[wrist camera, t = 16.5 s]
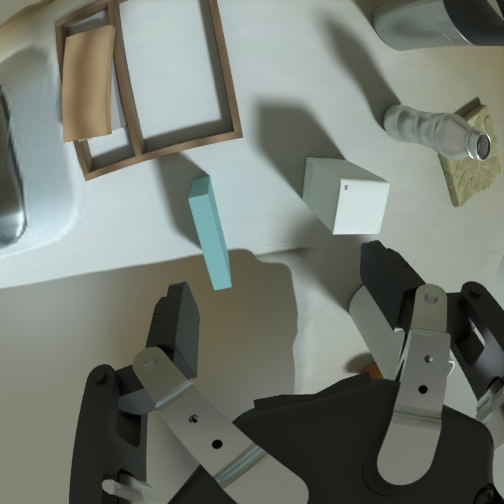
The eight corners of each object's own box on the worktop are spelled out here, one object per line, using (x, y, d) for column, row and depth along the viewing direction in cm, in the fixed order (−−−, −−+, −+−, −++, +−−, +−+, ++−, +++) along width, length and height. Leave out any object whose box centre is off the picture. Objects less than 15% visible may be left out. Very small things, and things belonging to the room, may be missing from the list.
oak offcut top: (115, 27, 23) (110, 24, 21) (111, 133, 31) (106, 135, 29) (72, 39, 22) (66, 37, 20) (70, 140, 30) (63, 142, 28)
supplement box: (300, 200, 43) (330, 235, 32) (305, 155, 39) (340, 176, 28) (341, 201, 44) (379, 235, 33) (348, 159, 40) (391, 182, 29)
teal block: (209, 175, 39) (208, 193, 31) (228, 254, 46) (231, 286, 39) (193, 179, 39) (187, 198, 31) (213, 257, 46) (214, 290, 39)
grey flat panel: (112, 30, 24) (108, 26, 22) (125, 126, 32) (120, 127, 30) (72, 47, 24) (66, 45, 22) (84, 139, 32) (78, 141, 30)
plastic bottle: (408, 139, 39) (494, 172, 22) (378, 139, 39) (466, 172, 22) (407, 105, 36) (497, 123, 19) (377, 102, 35) (469, 116, 18)
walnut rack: (210, -26, 22) (210, -33, 20) (241, 135, 37) (243, 137, 34) (62, 25, 22) (55, 23, 19) (92, 176, 36) (85, 181, 34)
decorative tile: (430, 138, 40) (443, 142, 37) (479, 102, 36) (490, 105, 32) (450, 210, 48) (460, 217, 45) (494, 169, 44) (503, 174, 41)
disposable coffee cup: (373, 357, 70) (390, 388, 60) (389, 361, 73) (404, 389, 63) (351, 376, 73) (365, 407, 63) (368, 379, 77) (381, 407, 67)
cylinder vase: (355, 327, 61) (398, 411, 39) (340, 296, 55) (394, 393, 33) (398, 301, 59) (451, 377, 37) (389, 266, 53) (457, 350, 31)
